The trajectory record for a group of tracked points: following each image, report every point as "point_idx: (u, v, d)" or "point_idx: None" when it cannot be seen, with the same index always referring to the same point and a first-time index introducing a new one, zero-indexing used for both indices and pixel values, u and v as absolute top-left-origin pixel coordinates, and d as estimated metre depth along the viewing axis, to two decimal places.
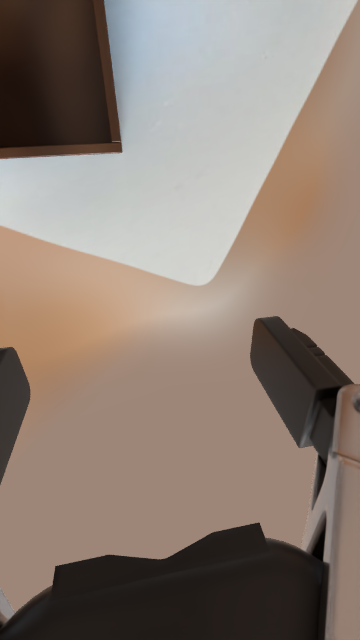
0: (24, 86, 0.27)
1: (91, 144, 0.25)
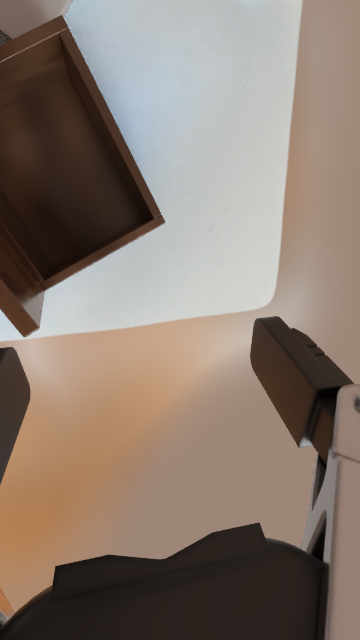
0: (58, 210, 0.30)
1: (137, 228, 0.26)
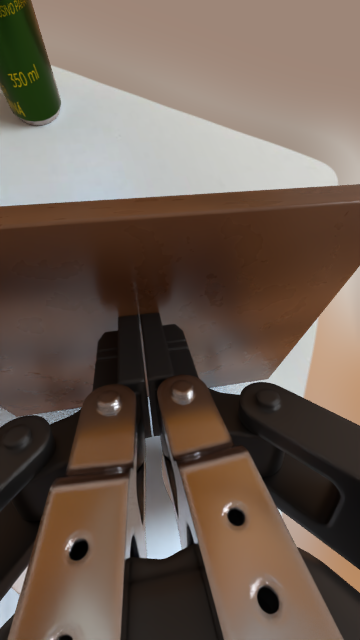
0: None
1: None
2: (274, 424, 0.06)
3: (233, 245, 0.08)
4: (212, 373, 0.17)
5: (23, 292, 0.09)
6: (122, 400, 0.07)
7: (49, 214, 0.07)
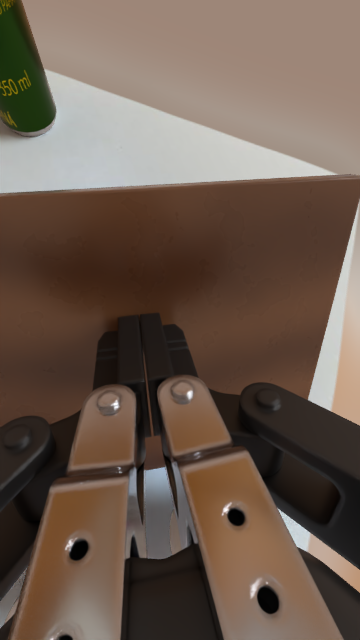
0: None
1: None
2: (274, 424, 0.06)
3: (218, 223, 0.10)
4: None
5: (30, 275, 0.09)
6: (122, 400, 0.07)
7: (61, 191, 0.09)
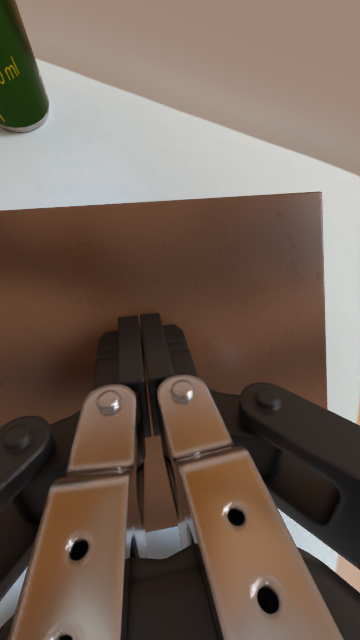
0: None
1: None
2: (274, 424, 0.06)
3: (204, 230, 0.11)
4: None
5: (41, 275, 0.11)
6: (122, 400, 0.07)
7: (75, 208, 0.11)
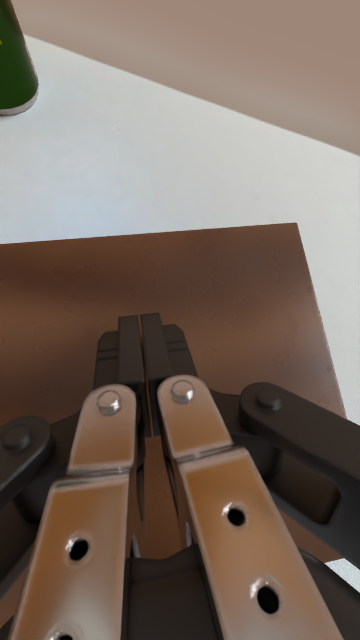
0: None
1: None
2: (274, 424, 0.06)
3: (197, 253, 0.13)
4: None
5: (51, 293, 0.12)
6: (122, 400, 0.07)
7: (86, 240, 0.13)
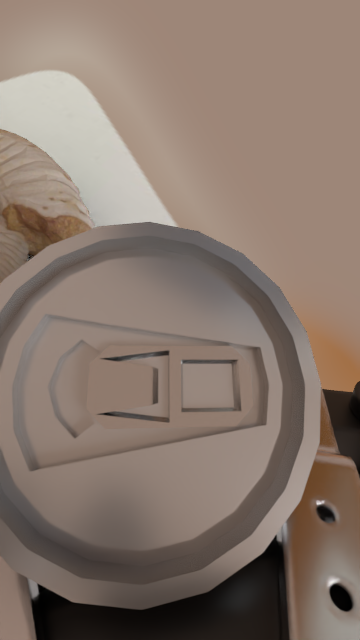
0: None
1: None
2: None
3: None
4: None
5: None
6: None
7: None
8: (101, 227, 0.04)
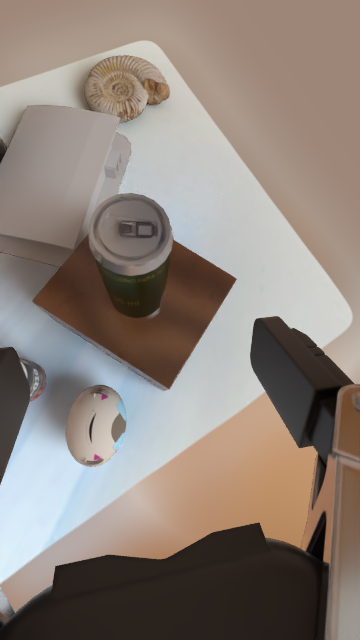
0: None
1: None
2: None
3: (191, 262, 0.31)
4: (147, 343, 0.28)
5: None
6: None
7: None
8: (120, 194, 0.18)
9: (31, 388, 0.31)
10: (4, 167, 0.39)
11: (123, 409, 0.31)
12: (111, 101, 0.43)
